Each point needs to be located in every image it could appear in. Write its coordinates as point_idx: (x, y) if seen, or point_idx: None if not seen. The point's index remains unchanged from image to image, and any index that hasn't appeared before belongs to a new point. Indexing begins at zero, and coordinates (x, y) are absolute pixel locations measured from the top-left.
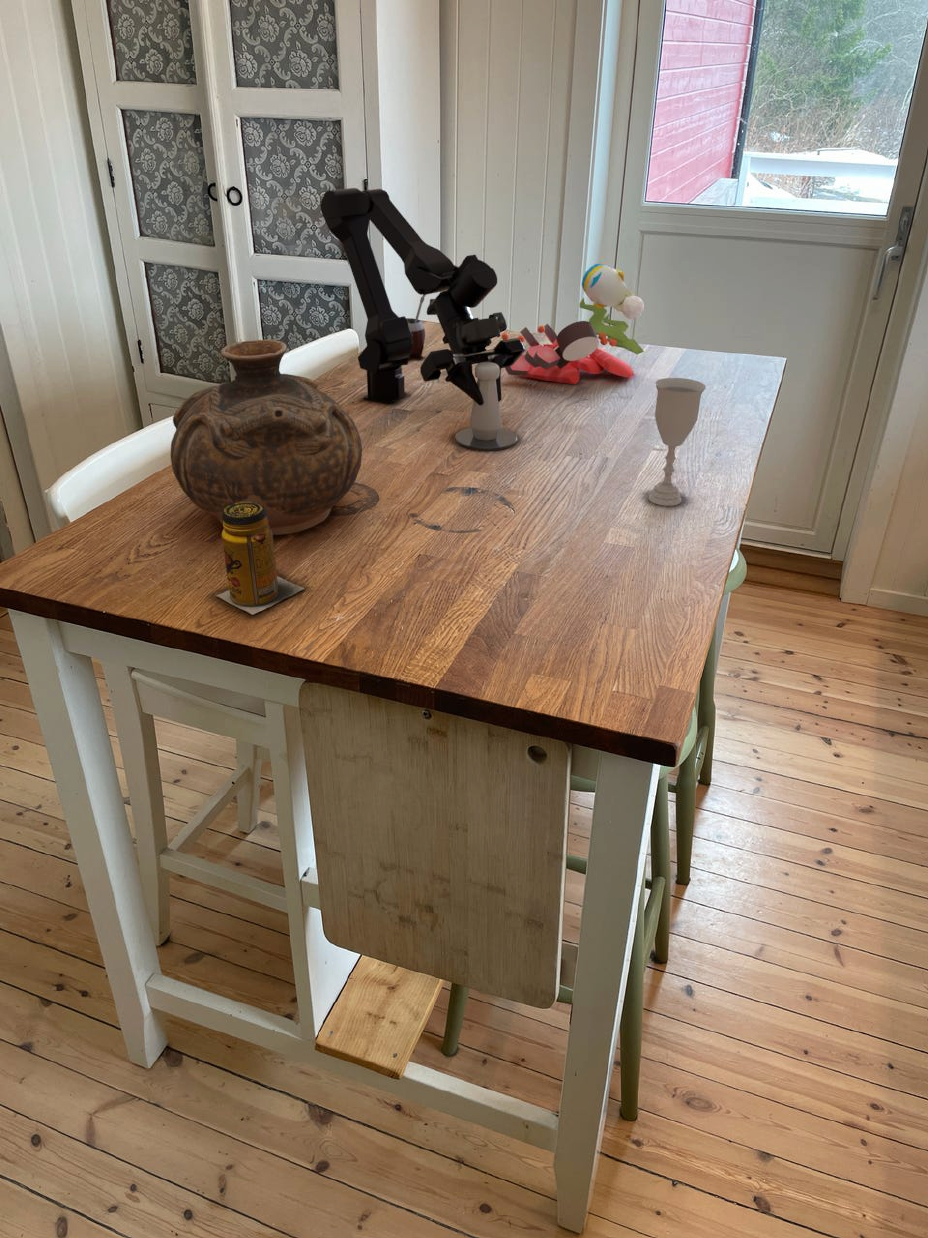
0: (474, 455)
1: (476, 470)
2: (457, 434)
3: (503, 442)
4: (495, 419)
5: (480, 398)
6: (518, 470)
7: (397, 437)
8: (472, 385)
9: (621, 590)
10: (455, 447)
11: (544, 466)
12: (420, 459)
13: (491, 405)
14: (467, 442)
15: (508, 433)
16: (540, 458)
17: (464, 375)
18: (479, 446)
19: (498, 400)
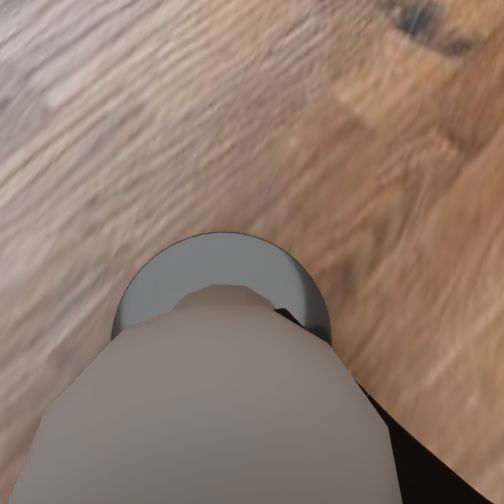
0: (316, 225)
1: (355, 124)
2: None
3: (193, 266)
4: (208, 291)
5: (295, 321)
6: (246, 77)
7: (496, 476)
8: (365, 393)
9: None
10: (346, 311)
11: (163, 71)
12: (476, 260)
13: (225, 300)
14: (306, 313)
15: None
16: (141, 125)
17: (479, 500)
18: (284, 263)
19: None
